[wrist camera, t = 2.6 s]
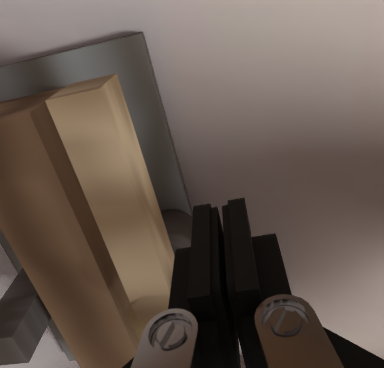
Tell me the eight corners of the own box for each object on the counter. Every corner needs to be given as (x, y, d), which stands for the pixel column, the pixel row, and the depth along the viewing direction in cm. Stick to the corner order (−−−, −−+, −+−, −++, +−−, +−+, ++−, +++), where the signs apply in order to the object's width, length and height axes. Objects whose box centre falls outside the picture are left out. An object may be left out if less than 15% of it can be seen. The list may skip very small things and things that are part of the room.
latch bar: (197, 299, 24) (195, 335, 21) (144, 305, 24) (136, 341, 22) (128, 70, 17) (113, 85, 15) (57, 86, 18) (31, 103, 15)
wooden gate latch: (147, 30, 22) (111, 55, 15) (228, 336, 35) (231, 432, 28) (-79, 86, 25) (-206, 130, 18) (73, 352, 38) (36, 443, 30)
